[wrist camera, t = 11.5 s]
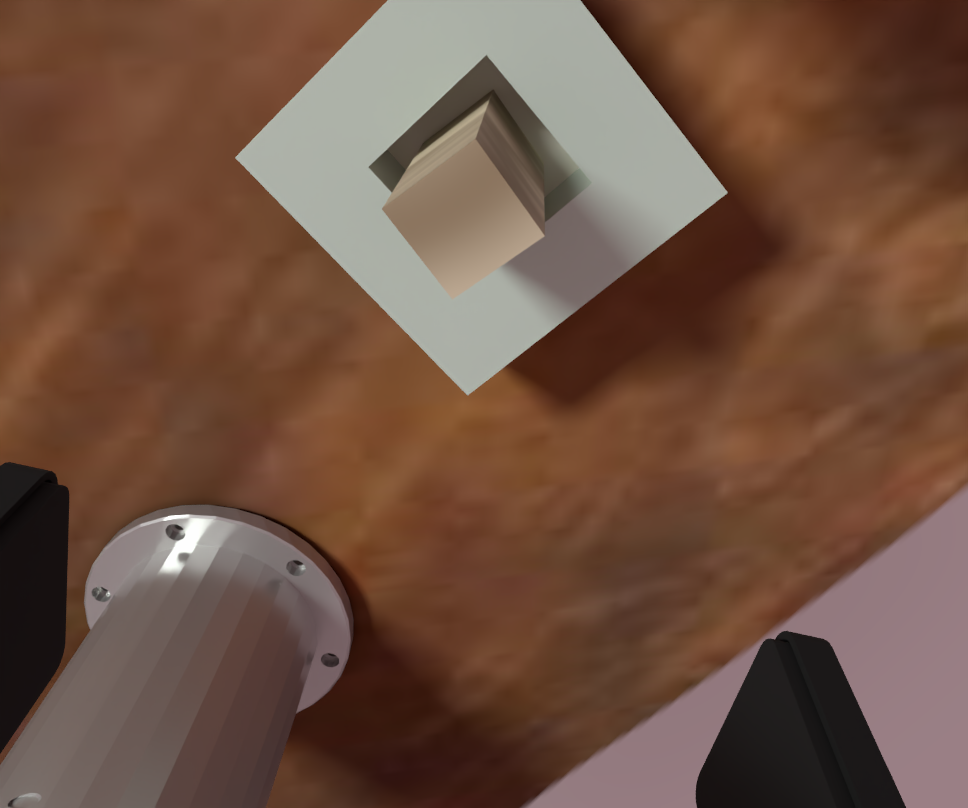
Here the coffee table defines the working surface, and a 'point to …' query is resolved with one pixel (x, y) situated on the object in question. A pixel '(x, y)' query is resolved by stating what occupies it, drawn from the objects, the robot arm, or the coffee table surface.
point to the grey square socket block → (546, 124)
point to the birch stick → (471, 196)
